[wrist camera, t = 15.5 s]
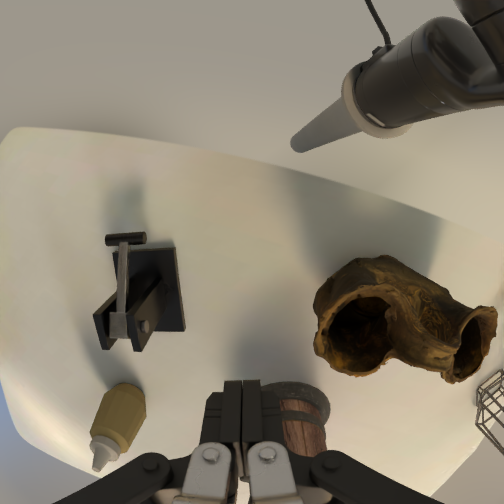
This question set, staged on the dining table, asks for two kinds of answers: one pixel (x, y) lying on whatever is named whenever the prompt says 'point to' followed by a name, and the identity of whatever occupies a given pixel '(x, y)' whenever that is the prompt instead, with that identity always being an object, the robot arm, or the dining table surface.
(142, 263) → the bracket
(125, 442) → the squeeze bottle
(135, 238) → the lever
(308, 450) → the tankard
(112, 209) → the dining table surface
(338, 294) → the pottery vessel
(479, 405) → the geometric lantern
